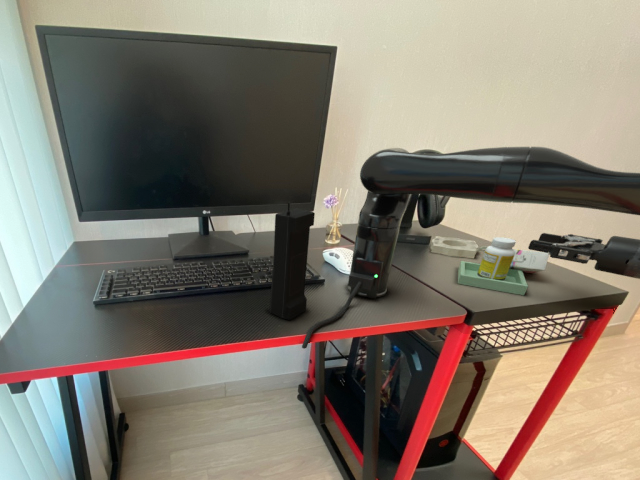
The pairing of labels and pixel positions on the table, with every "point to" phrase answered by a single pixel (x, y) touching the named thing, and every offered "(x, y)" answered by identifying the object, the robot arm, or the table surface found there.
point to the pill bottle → (497, 259)
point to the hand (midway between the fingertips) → (534, 240)
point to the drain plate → (454, 247)
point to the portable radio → (290, 262)
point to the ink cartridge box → (527, 260)
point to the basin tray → (511, 283)
